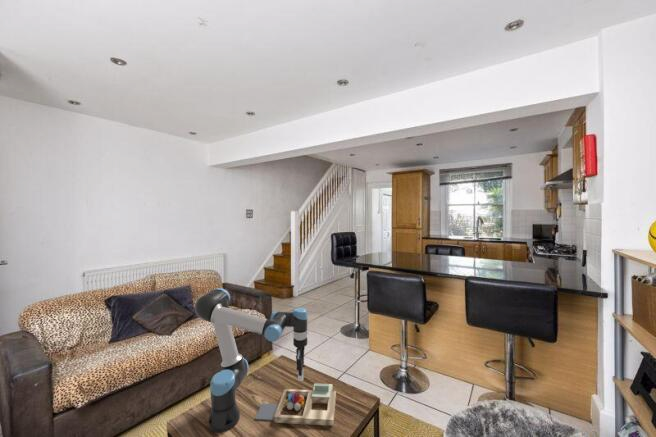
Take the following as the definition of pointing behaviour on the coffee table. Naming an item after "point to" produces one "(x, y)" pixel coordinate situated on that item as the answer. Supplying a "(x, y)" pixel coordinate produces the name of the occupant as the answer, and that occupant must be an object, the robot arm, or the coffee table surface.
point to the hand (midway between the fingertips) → (300, 379)
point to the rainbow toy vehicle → (295, 401)
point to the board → (308, 409)
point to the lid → (321, 391)
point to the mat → (266, 412)
